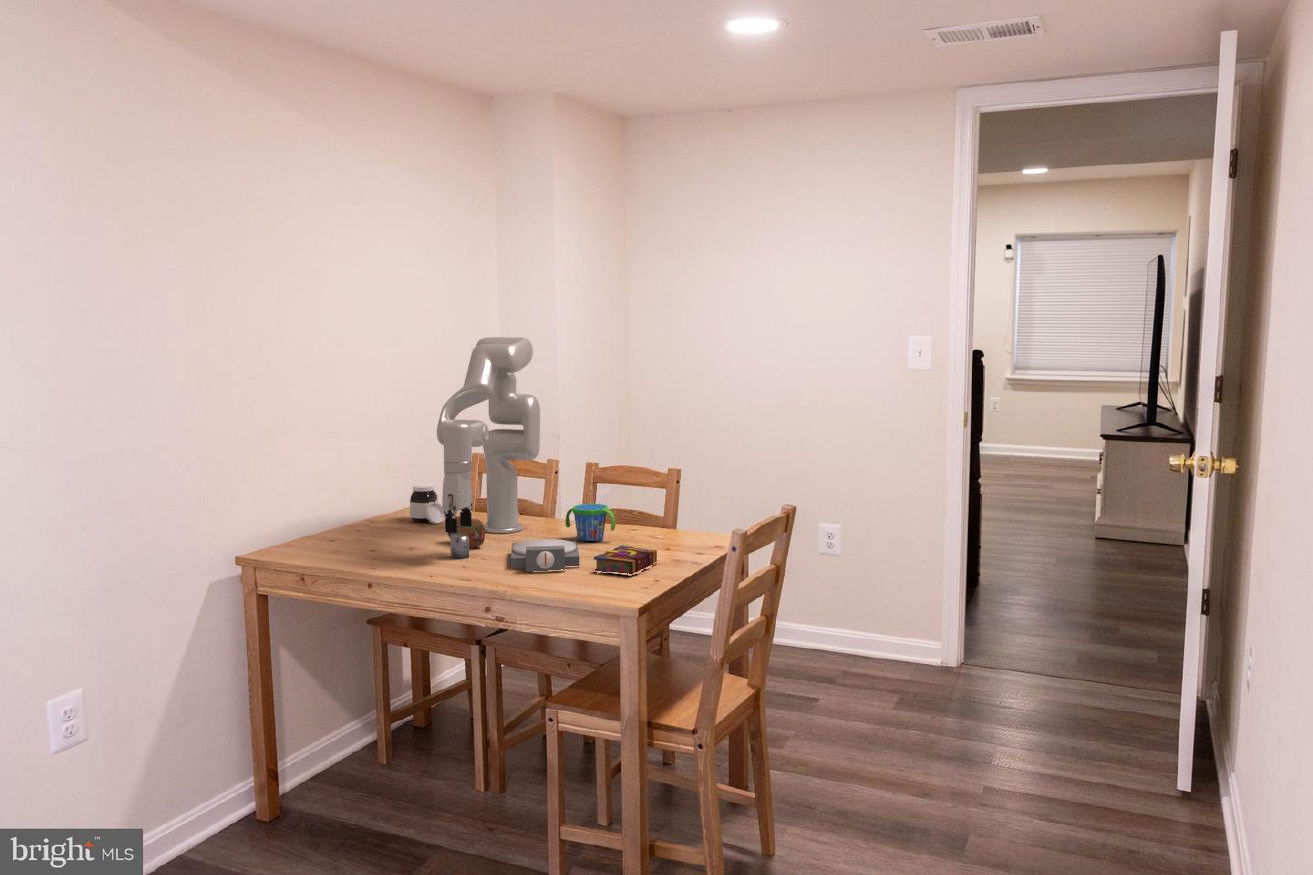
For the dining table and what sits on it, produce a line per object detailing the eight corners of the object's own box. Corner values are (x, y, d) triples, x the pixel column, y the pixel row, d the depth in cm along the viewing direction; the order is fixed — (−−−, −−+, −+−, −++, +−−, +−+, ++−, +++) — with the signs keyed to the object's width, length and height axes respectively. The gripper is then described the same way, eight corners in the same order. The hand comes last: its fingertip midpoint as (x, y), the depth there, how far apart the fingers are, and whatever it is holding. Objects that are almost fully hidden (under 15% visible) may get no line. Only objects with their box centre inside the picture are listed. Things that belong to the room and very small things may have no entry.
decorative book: (657, 565, 265) (658, 547, 264) (629, 579, 251) (629, 560, 250) (620, 561, 270) (620, 543, 269) (591, 574, 256) (591, 555, 255)
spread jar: (418, 517, 328) (417, 482, 326) (451, 518, 326) (450, 483, 325) (404, 524, 316) (403, 489, 315) (438, 525, 314) (437, 489, 313)
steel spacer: (455, 554, 276) (454, 533, 275) (472, 555, 275) (471, 534, 274) (447, 558, 271) (447, 537, 270) (464, 559, 270) (464, 538, 269)
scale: (512, 553, 277) (511, 532, 277) (576, 551, 280) (576, 530, 279) (510, 573, 255) (510, 550, 255) (580, 571, 258) (580, 549, 257)
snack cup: (558, 540, 294) (558, 507, 292) (577, 534, 303) (577, 501, 302) (604, 546, 286) (603, 511, 285) (621, 539, 296) (621, 506, 295)
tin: (447, 542, 291) (446, 514, 290) (456, 540, 294) (455, 512, 293) (478, 550, 281) (477, 521, 280) (487, 548, 283) (486, 519, 282)
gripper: (458, 463, 279) (459, 523, 281) (431, 471, 262) (432, 534, 264) (483, 464, 277) (483, 524, 279) (457, 472, 261) (458, 536, 262)
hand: (458, 529), depth 271 cm, fingers open, 9 cm apart
